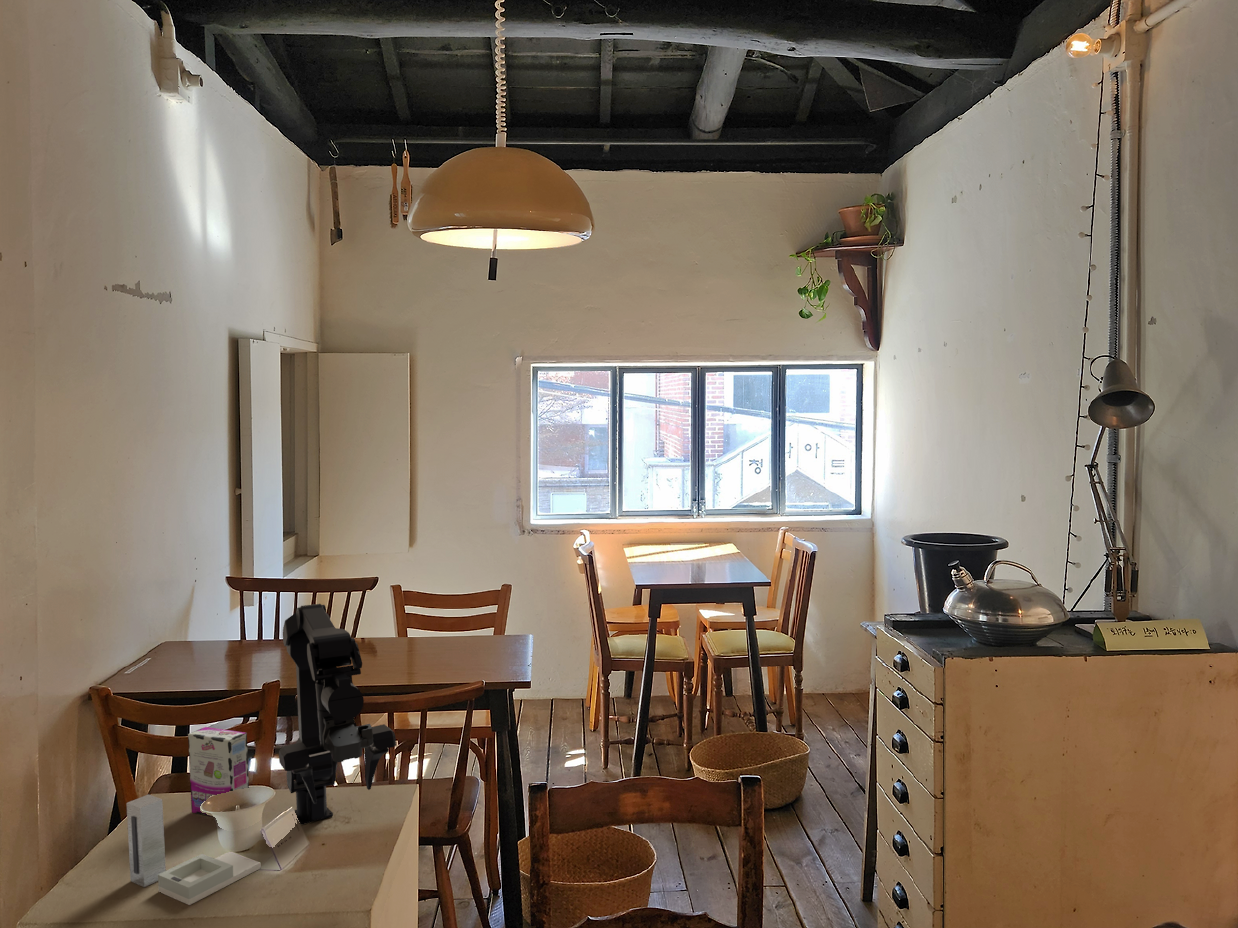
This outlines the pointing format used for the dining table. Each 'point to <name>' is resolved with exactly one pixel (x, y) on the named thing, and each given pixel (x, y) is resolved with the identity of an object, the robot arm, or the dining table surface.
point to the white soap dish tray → (204, 876)
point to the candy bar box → (216, 763)
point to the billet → (146, 839)
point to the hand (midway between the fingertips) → (342, 795)
